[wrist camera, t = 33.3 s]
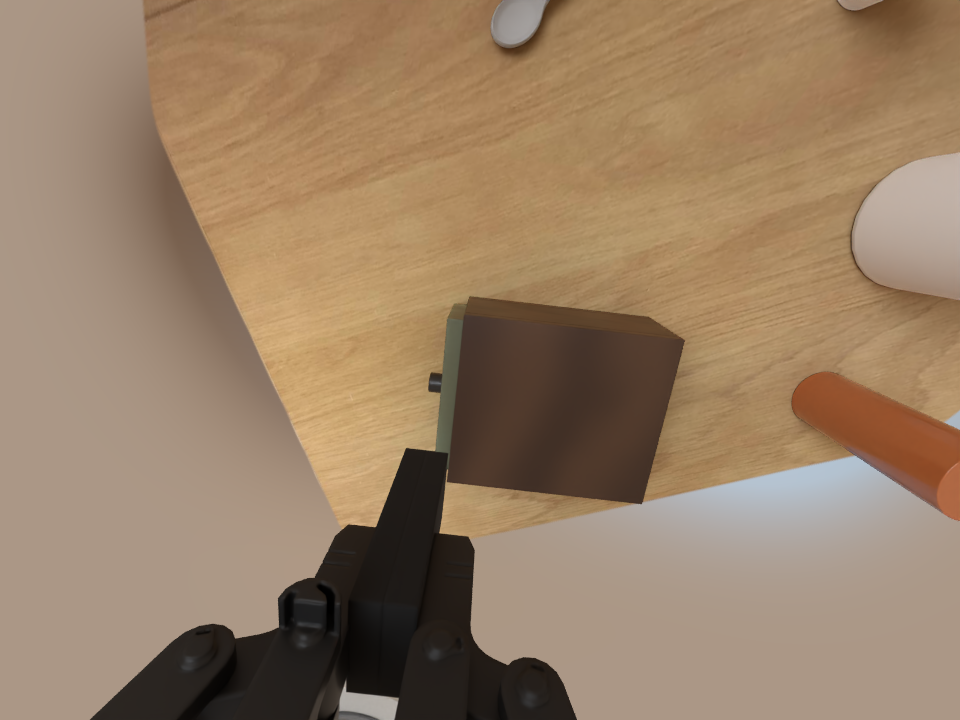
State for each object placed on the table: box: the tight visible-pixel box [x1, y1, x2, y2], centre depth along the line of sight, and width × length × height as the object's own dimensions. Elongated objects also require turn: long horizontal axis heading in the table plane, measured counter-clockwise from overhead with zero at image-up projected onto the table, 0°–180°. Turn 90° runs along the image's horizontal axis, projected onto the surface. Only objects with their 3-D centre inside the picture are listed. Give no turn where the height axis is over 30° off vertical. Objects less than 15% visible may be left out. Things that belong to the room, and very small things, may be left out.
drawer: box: [428, 304, 467, 469], centre depth 37 cm, size 16×12×6 cm
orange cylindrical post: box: [792, 372, 960, 521], centre depth 34 cm, size 5×5×14 cm
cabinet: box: [447, 296, 685, 504], centre depth 37 cm, size 16×14×8 cm
